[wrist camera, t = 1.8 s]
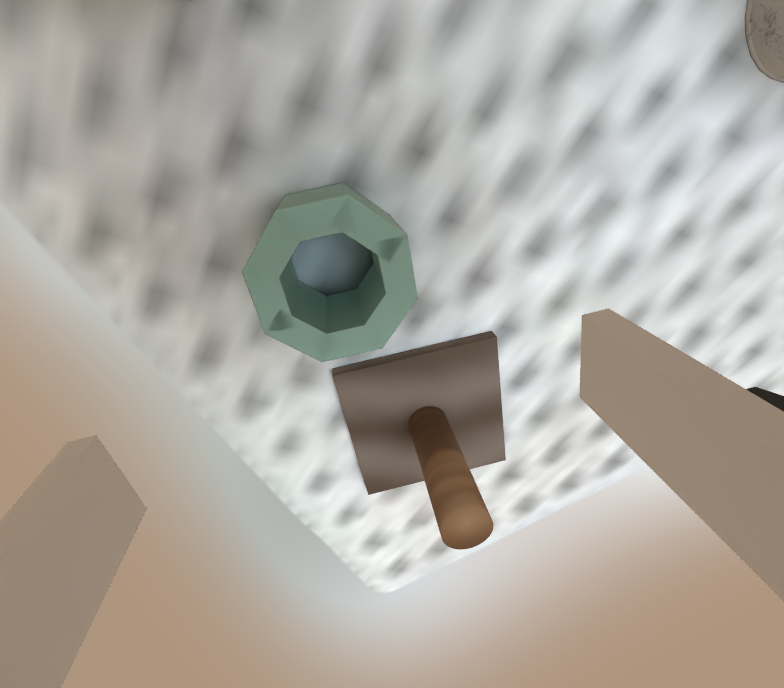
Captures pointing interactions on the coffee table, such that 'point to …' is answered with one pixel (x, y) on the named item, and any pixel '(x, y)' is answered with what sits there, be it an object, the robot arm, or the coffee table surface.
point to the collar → (341, 310)
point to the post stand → (430, 426)
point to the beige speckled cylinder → (766, 36)
